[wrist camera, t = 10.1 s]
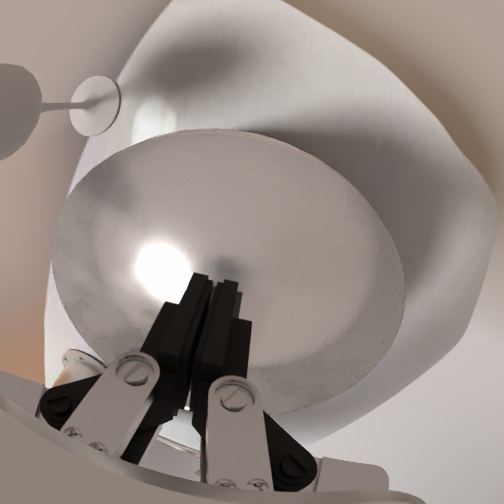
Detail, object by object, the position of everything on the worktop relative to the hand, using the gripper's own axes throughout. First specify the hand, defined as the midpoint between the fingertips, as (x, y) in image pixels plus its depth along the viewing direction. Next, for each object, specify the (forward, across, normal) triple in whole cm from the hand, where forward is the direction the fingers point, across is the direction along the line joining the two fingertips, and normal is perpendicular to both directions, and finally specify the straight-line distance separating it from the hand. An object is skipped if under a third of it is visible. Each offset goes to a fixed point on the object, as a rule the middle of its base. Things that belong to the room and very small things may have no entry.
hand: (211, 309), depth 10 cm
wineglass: (+19, +19, -7) cm, 28 cm away
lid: (+6, 0, +6) cm, 8 cm away
